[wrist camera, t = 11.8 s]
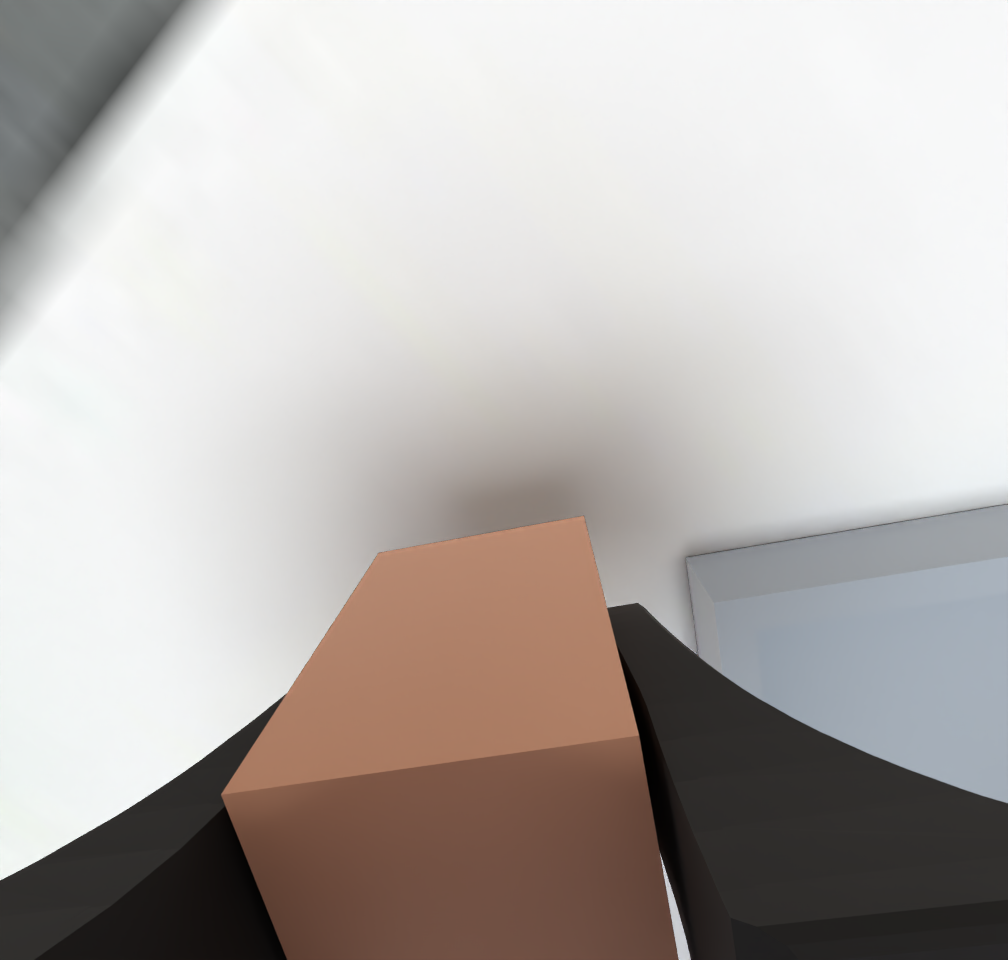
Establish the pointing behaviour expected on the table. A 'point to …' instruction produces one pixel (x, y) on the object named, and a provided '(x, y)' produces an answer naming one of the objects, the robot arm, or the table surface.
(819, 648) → the slate tray
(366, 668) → the terracotta block
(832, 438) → the table surface
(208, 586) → the table surface
